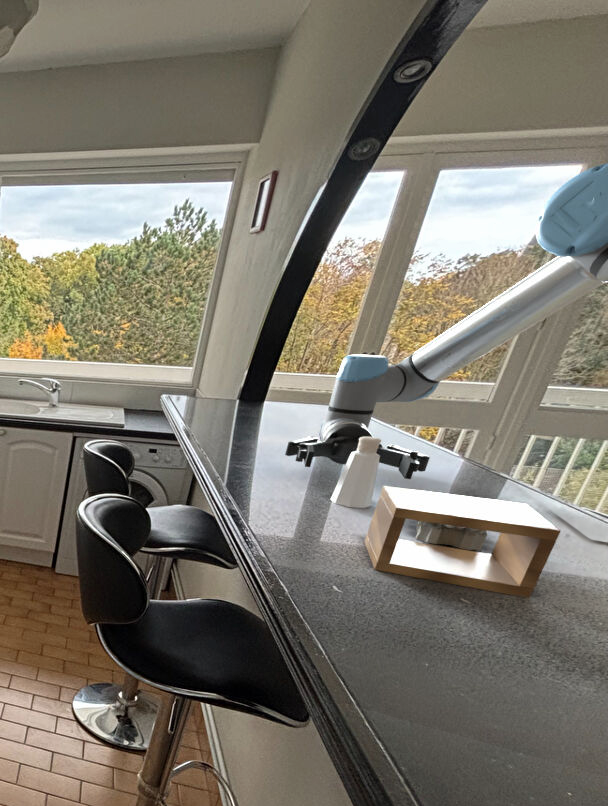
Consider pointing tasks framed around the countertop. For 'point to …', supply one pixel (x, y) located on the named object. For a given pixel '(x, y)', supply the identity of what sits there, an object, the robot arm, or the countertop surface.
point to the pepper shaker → (358, 475)
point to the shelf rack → (499, 572)
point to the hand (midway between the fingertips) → (358, 465)
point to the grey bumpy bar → (450, 535)
